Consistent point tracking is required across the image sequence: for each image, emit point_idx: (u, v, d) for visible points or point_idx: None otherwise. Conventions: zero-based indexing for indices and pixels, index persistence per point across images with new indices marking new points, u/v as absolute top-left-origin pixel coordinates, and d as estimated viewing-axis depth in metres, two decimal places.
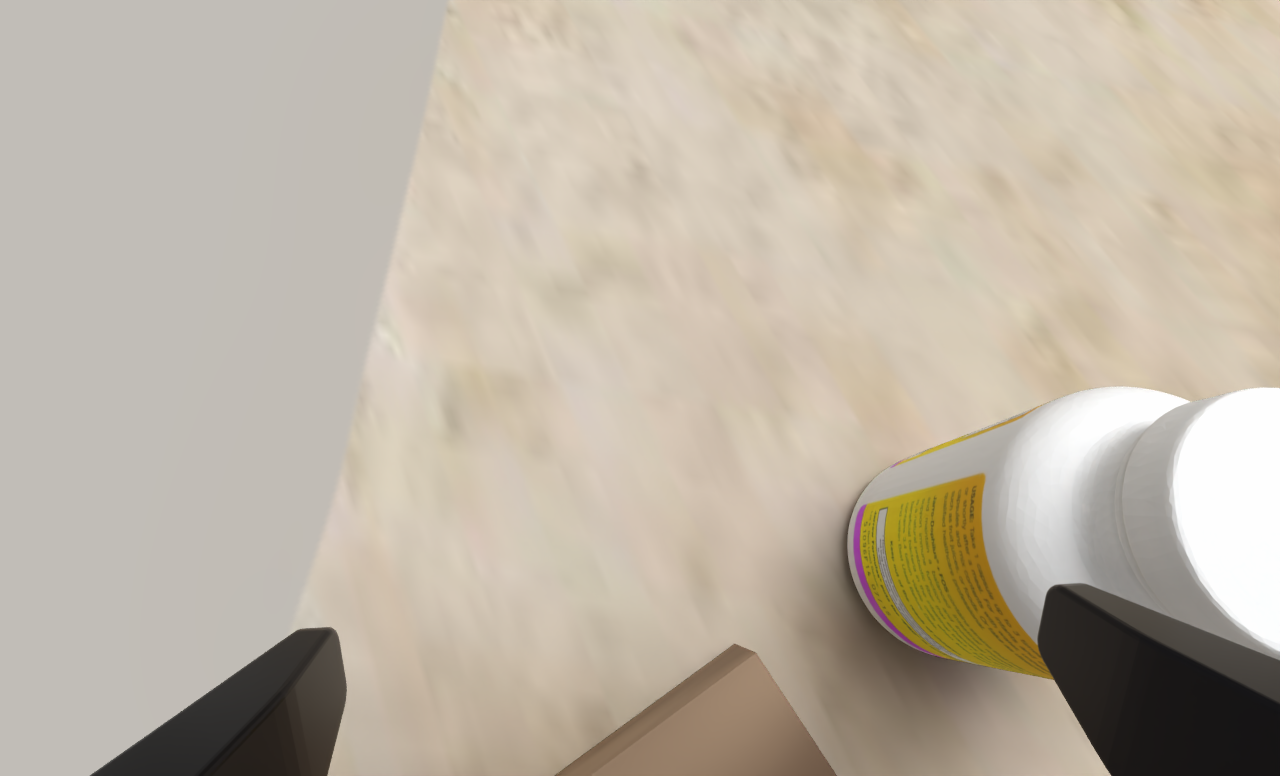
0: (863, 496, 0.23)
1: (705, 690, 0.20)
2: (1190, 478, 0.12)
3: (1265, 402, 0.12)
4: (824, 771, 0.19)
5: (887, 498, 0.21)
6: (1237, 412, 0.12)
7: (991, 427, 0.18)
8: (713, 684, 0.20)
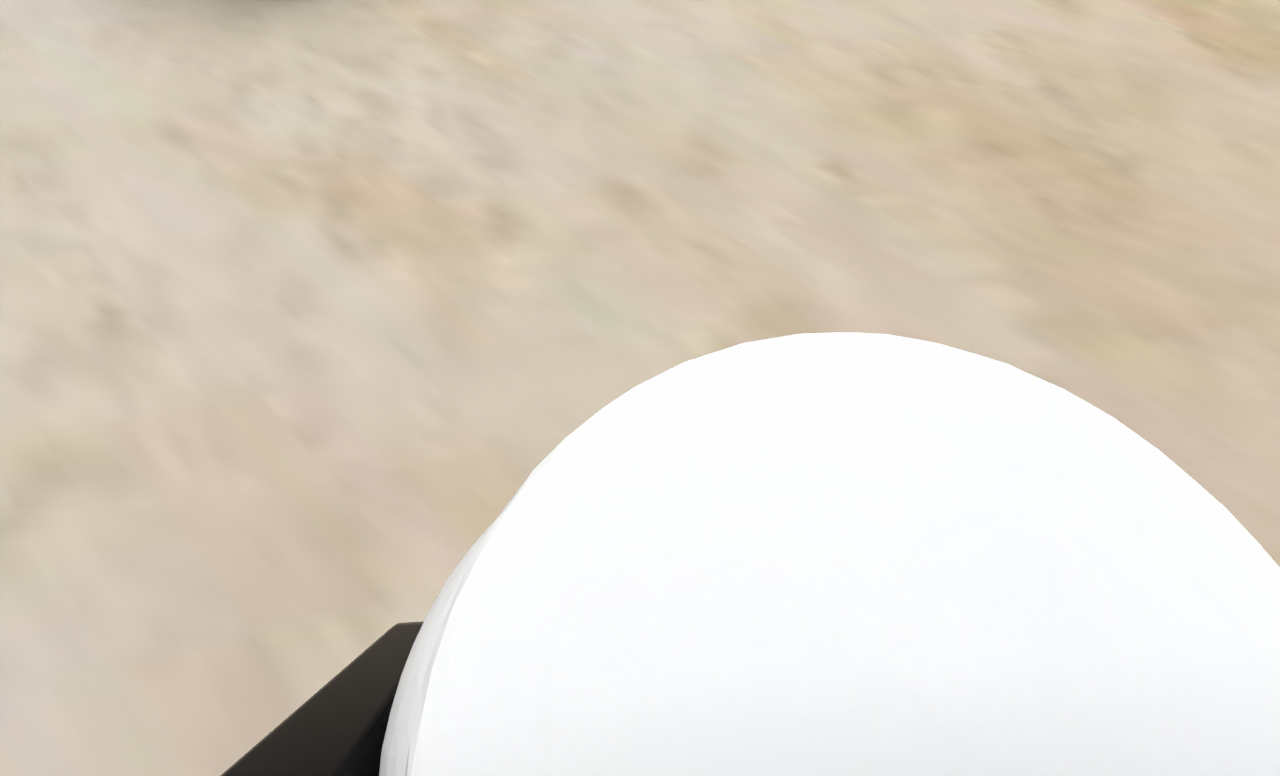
0: None
1: None
2: (469, 771, 0.03)
3: (713, 395, 0.04)
4: None
5: None
6: (624, 452, 0.04)
7: None
8: None
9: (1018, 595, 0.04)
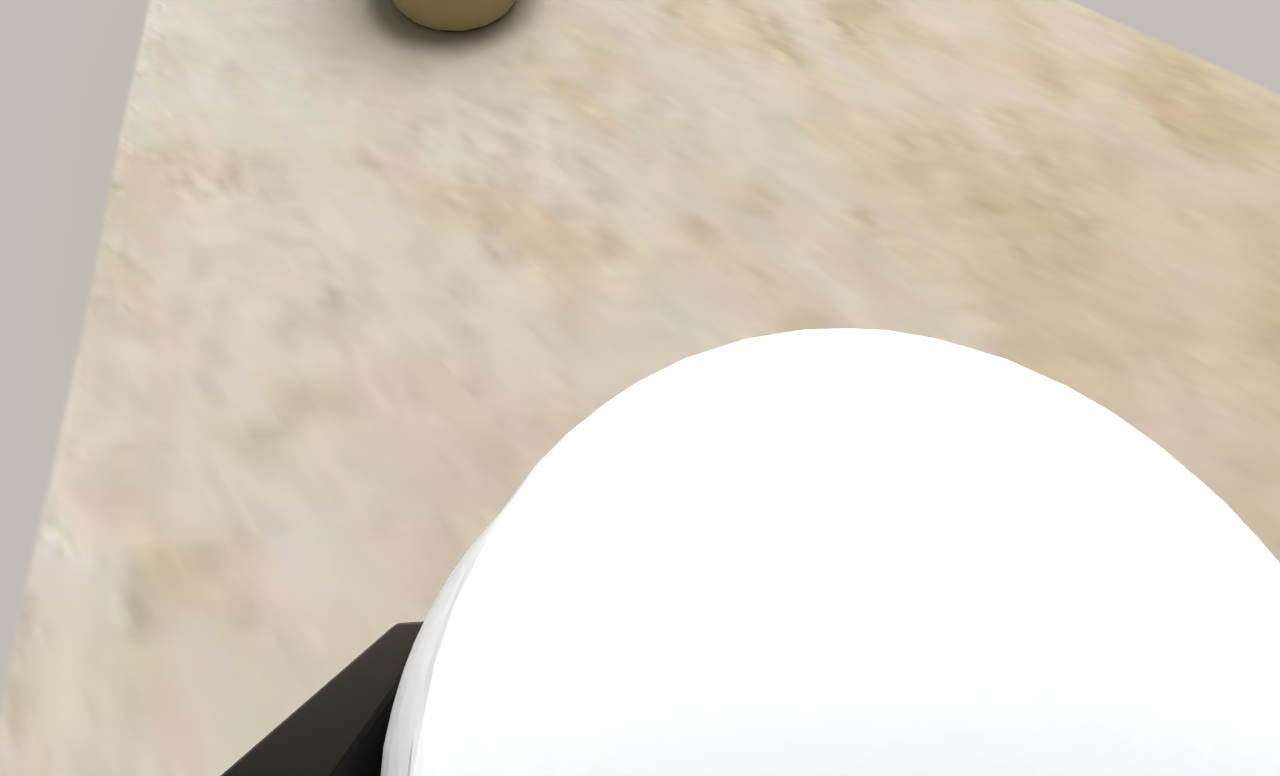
0: None
1: None
2: (470, 764, 0.03)
3: (714, 390, 0.04)
4: None
5: None
6: (626, 448, 0.04)
7: None
8: None
9: (1018, 590, 0.04)
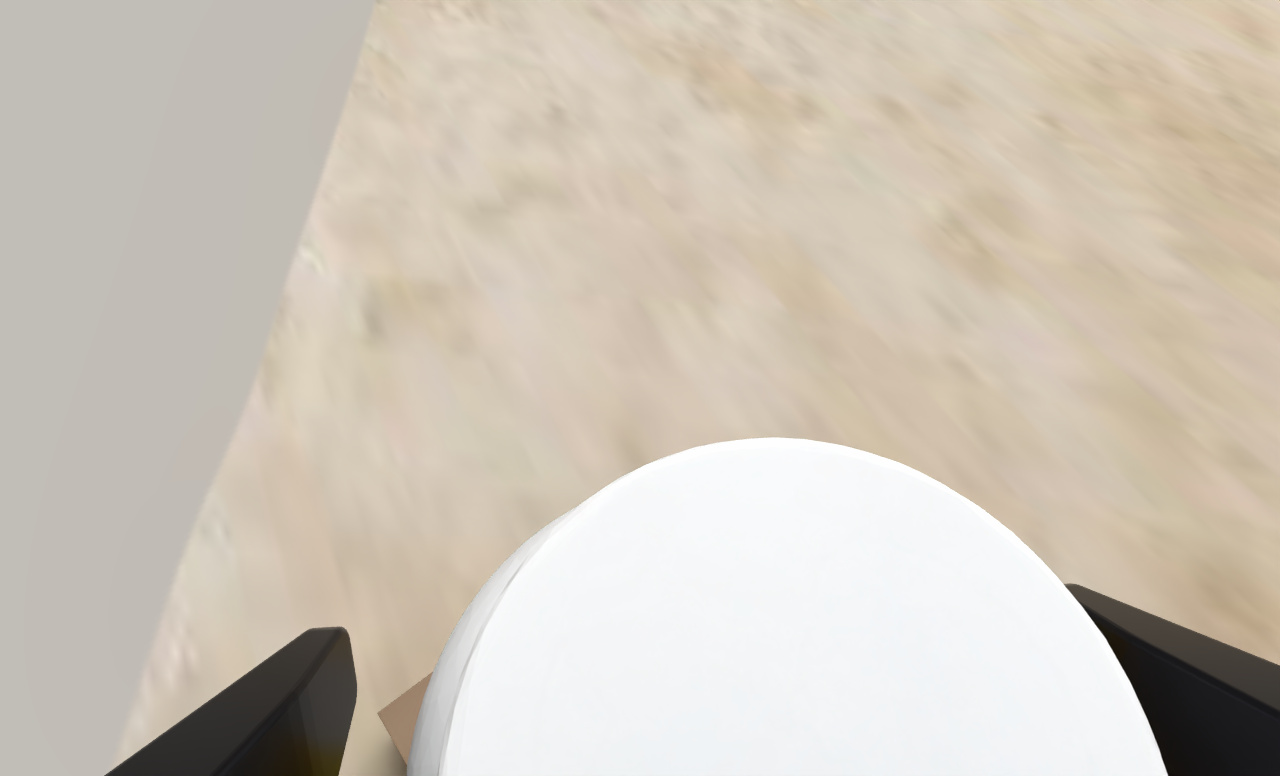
0: None
1: None
2: None
3: (666, 492, 0.05)
4: None
5: None
6: (598, 540, 0.05)
7: None
8: None
9: (891, 650, 0.05)
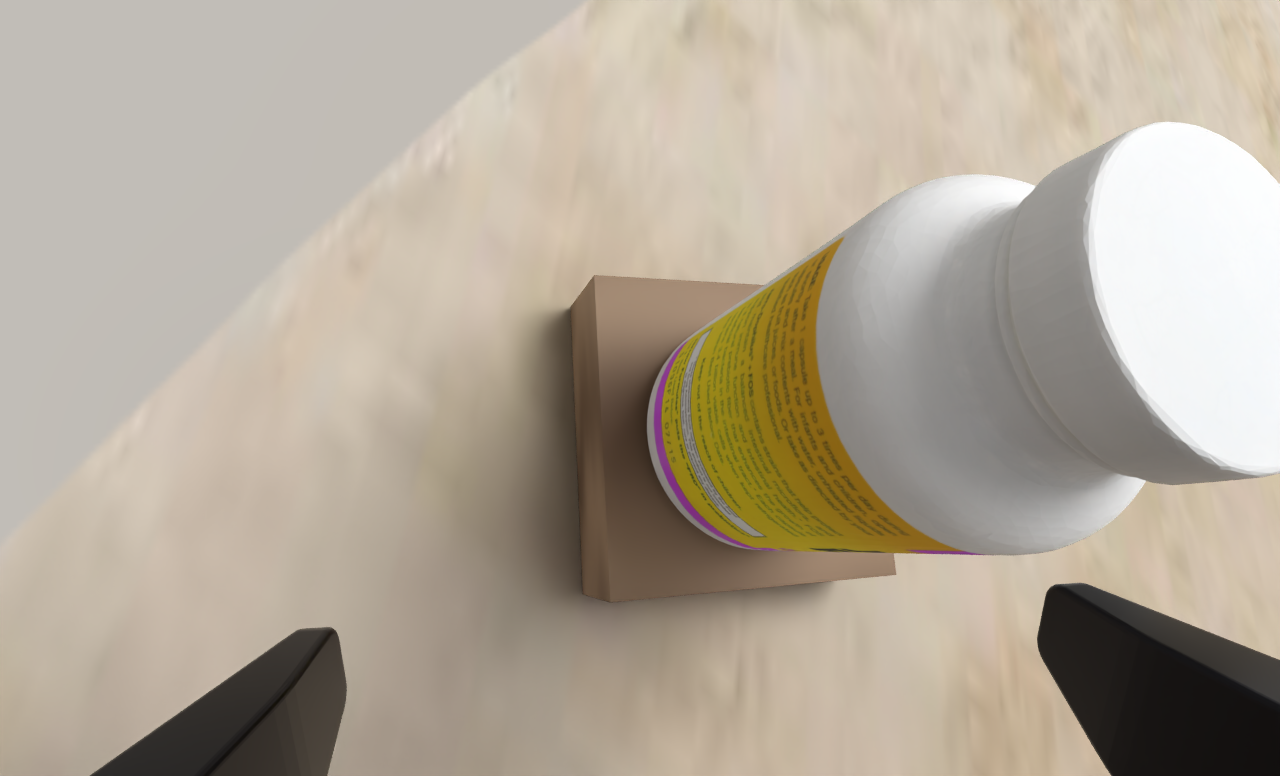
0: (688, 337, 0.19)
1: None
2: (1117, 184, 0.08)
3: (1217, 147, 0.09)
4: None
5: (715, 321, 0.17)
6: (1186, 140, 0.09)
7: None
8: None
9: (1271, 277, 0.09)
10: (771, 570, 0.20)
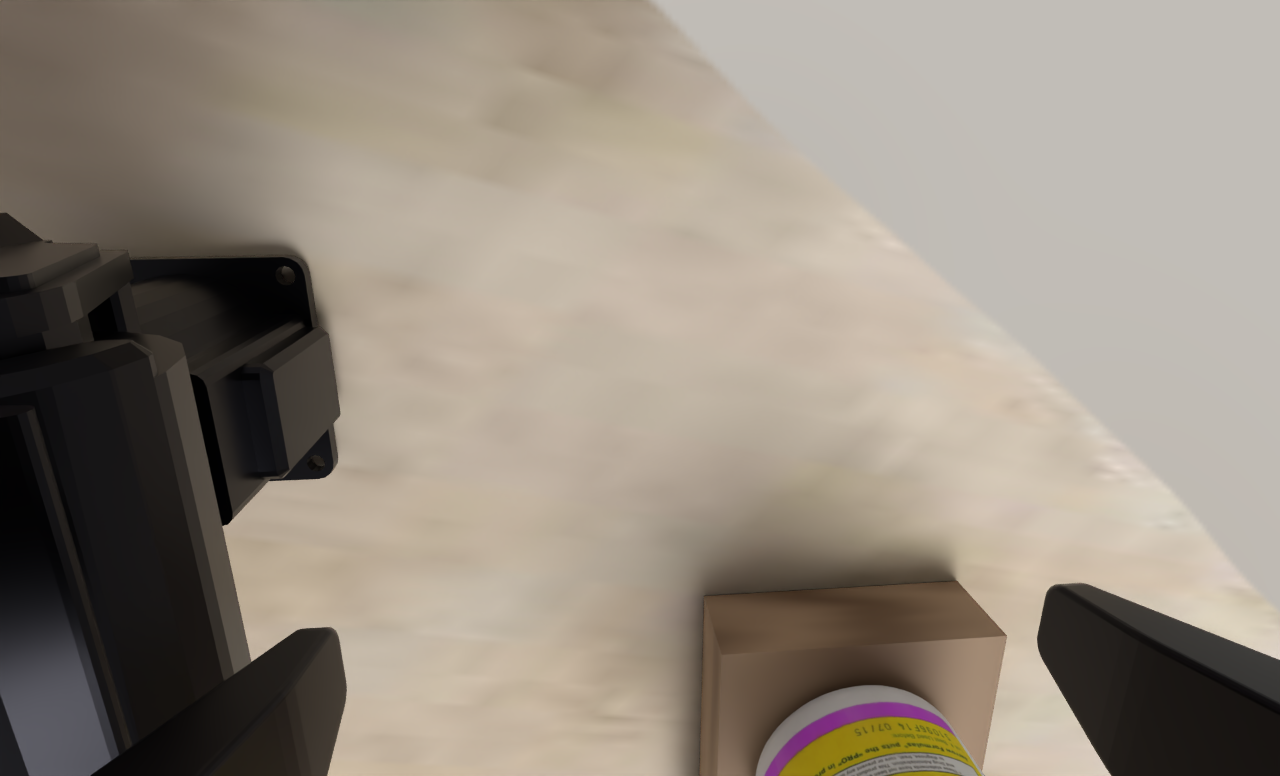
0: (951, 726, 0.21)
1: None
2: None
3: None
4: None
5: None
6: None
7: None
8: None
9: None
10: None
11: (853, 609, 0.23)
